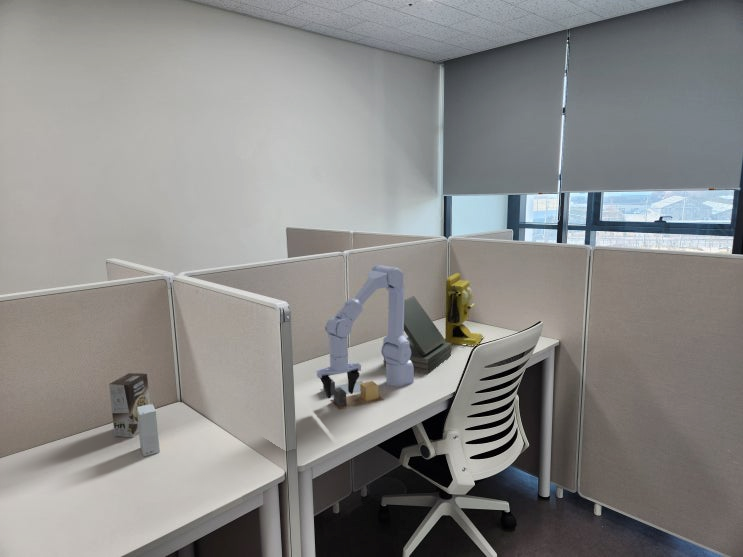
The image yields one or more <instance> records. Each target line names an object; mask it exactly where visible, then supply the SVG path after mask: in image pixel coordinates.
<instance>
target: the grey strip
mask: <svg viewBox="0 0 743 557" xmlns="http://www.w3.org/2000/svg"><path fill="white" fill-rule="evenodd" d="M330 379H331V380H332V381H331V398H334V388H339V387H341V388H342V389H343V390H344V391H345V392H346V395H348V394H350V393H349V391H348V383H345V384H339V385H336V382H335V381H334V380H333V378H331V377H330ZM360 383H364V382H363V380H359V381H356V383H355V386H354V390H353V394H354V393H358V392H360ZM319 390H320V391H321V393H322V394H323V395H324V396H326V391H325V388H324V385H323V384H322V388H320V389H319ZM326 398H327V399H329V398H328V397H327V396H326Z"/></svg>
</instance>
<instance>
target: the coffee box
mask: <svg viewBox="0 0 743 557" xmlns="http://www.w3.org/2000/svg"><path fill="white" fill-rule="evenodd" d="M108 386H109V395H110V402H111V403H110V404H111V414H112V423H113V424H112V425H113V431H114V432H113V433H114V437H124V438H134V437H136V436H137V435H139V427H138V417H137V407H139V406H144V405H149V404H151V401H150V392H149V391H150V390H149V381H148V374H147V373H140V372H139V373H136V372H135V373H133V372H130V373H126V374H124V375H123V376H121V377H119V378H118V379H116V380H114V381H112V382H110V383H109V384H108Z"/></svg>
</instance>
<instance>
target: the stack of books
mask: <svg viewBox="0 0 743 557" xmlns="http://www.w3.org/2000/svg"><path fill="white" fill-rule="evenodd" d="M404 334H406V336H407V337H406V339H407V340H408V341H409V346H410V349H411V357H410V359H409V360H411V362H412V364H413V367H414V372H415V373H416V372H417V373H420V374H425V375H429V374H430V373H432V372H433V371H434V370H435V369H437V368H439V367H440V364H441V363H442V364H444V363H445V362H446V361H448V360H449V359H450V358H451V357H452V344H451V343H447V342H445V341H446V340H445V338H444V336H443V335H442V333H441V331H440V330H439V328H437V326H436V324H435V323H434V322H433V321H432V318H430V316H429V315H428V313H427V312H426V311H425V309H424V308H423V307H422V305H421V303H420V302H419V301H418V299H417V297H415V295H414V296H413V295H412V296H411V297H408V298H406V299H404ZM450 356H451V357H450ZM449 357H450V358H449ZM448 358H449V359H448ZM445 360H446V361H445ZM444 361H445V362H444ZM382 362H383V365H384V366H385V367H386V361H385V357H383V360H382ZM442 364H441V365H442ZM436 367H437V368H436Z"/></svg>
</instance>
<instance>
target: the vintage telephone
mask: <svg viewBox="0 0 743 557" xmlns="http://www.w3.org/2000/svg"><path fill="white" fill-rule="evenodd" d="M472 297H473V290H472V288H471V287H470V281H469V280H462V279H461V274H460V273H459V272H456V273H454V274H452V275H451V276H448V277H447V278H446V280H445V335H444V336H445V338H444V339H445V340H446V341H445V342H447V343H455V344H454V345H456V344H458V345H457V346H459V347H460V348H465V347H469V346H468V345H473V346H475V345H477V344H478V345H479V344H480V343H481V342H480V340H481V339H482V337H483V336H484V335H483V334H482V333H476V332H475V333H474V332H471V331H470V329H469V328H468V327H467V326H466V325H465V324H463V323H464V322H465V321H467V319H469V315H470V309H472V307H474V306H475V305H476V304H475V303H474V302H473V303H472V304H470V301H471V300H472ZM482 340H483V339H482ZM482 340H481V341H482ZM479 342H480V343H479ZM459 344H466V346H464V345H463V346H462V345H459ZM478 345H477V346H478Z"/></svg>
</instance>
